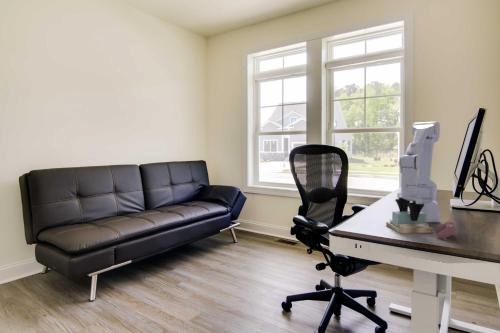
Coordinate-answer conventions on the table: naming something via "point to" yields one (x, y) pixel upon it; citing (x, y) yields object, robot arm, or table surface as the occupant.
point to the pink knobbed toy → (446, 230)
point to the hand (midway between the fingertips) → (408, 218)
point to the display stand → (410, 228)
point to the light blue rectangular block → (407, 218)
